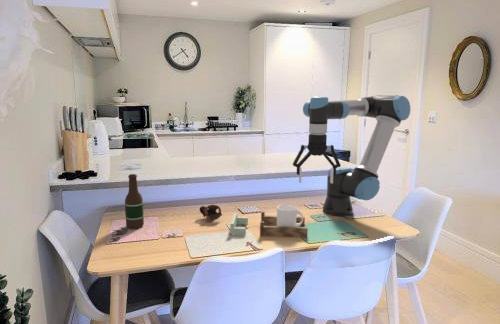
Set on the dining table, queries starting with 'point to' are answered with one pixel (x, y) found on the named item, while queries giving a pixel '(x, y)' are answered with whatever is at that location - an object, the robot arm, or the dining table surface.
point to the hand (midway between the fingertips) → (315, 182)
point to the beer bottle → (134, 205)
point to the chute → (281, 227)
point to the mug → (287, 216)
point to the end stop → (236, 221)
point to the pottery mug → (210, 212)
